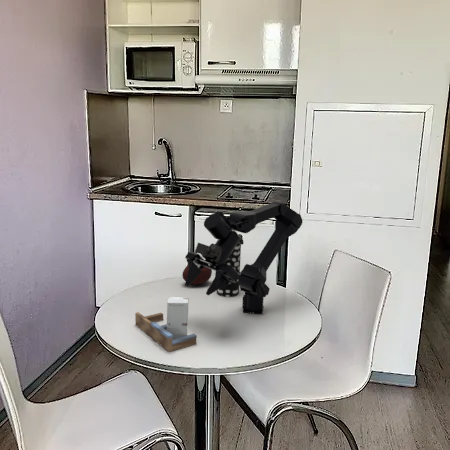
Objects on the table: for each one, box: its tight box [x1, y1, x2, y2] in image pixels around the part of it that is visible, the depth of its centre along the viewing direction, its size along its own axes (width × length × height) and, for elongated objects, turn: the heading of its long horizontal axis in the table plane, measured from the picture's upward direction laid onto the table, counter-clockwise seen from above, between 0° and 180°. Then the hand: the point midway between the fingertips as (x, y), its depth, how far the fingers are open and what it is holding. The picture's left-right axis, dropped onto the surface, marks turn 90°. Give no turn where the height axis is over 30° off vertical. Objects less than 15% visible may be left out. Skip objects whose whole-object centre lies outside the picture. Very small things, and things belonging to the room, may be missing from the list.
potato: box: [181, 264, 213, 286], centre depth 188 cm, size 9×12×9 cm
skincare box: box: [166, 296, 189, 340], centre depth 142 cm, size 6×4×12 cm
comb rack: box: [135, 311, 198, 353], centre depth 146 cm, size 21×9×5 cm, turn 36°
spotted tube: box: [216, 243, 242, 298], centre depth 179 cm, size 8×8×20 cm
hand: (196, 289), depth 146 cm, fingers open, 9 cm apart
